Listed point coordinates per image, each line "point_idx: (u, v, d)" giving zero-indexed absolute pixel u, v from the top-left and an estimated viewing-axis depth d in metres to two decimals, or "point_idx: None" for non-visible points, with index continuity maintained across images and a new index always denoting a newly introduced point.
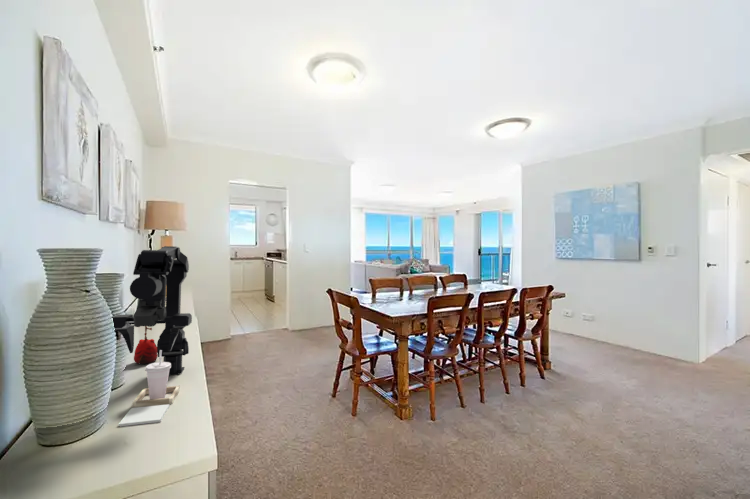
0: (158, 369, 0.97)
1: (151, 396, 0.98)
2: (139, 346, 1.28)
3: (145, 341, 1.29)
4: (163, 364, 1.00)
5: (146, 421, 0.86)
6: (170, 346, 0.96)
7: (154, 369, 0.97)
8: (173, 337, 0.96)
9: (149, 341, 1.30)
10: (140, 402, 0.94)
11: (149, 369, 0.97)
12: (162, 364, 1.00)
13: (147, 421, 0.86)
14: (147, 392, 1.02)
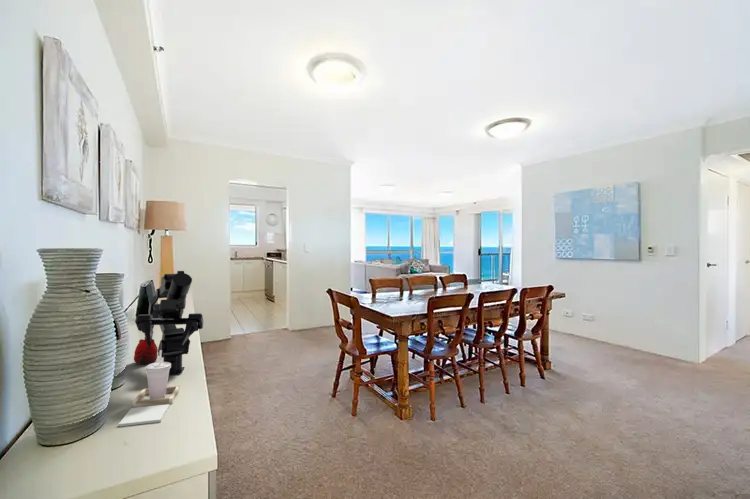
0: (158, 369, 0.97)
1: (151, 396, 0.98)
2: (139, 346, 1.28)
3: (145, 341, 1.29)
4: (163, 364, 1.00)
5: (146, 421, 0.86)
6: (183, 339, 1.09)
7: (154, 369, 0.97)
8: (187, 331, 1.11)
9: None
10: (140, 402, 0.94)
11: (149, 369, 0.97)
12: (162, 364, 1.00)
13: (147, 421, 0.86)
14: (147, 392, 1.02)
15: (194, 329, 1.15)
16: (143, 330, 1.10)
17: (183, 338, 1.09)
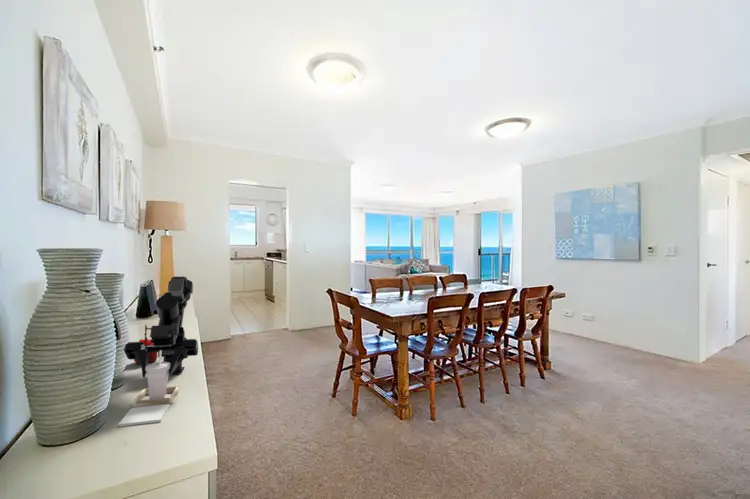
0: (158, 369, 0.97)
1: (151, 396, 0.98)
2: None
3: (145, 341, 1.29)
4: (163, 364, 1.00)
5: (146, 421, 0.86)
6: (171, 368, 1.00)
7: (154, 369, 0.97)
8: (175, 359, 1.02)
9: (149, 341, 1.30)
10: (140, 402, 0.94)
11: (149, 369, 0.97)
12: (162, 364, 1.00)
13: (147, 421, 0.86)
14: (147, 392, 1.02)
15: (183, 356, 1.06)
16: (138, 358, 1.02)
17: (171, 368, 1.00)
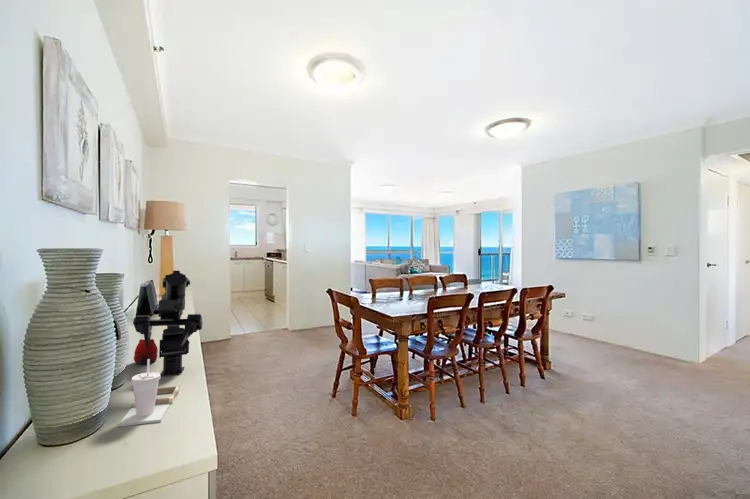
0: (145, 381, 0.87)
1: (138, 411, 0.88)
2: (139, 346, 1.28)
3: None
4: (151, 375, 0.90)
5: (146, 421, 0.86)
6: (182, 340, 1.07)
7: (141, 381, 0.87)
8: (186, 332, 1.09)
9: None
10: None
11: (135, 381, 0.87)
12: (150, 375, 0.90)
13: (147, 421, 0.86)
14: None
15: (193, 330, 1.13)
16: (141, 331, 1.08)
17: (182, 339, 1.07)
